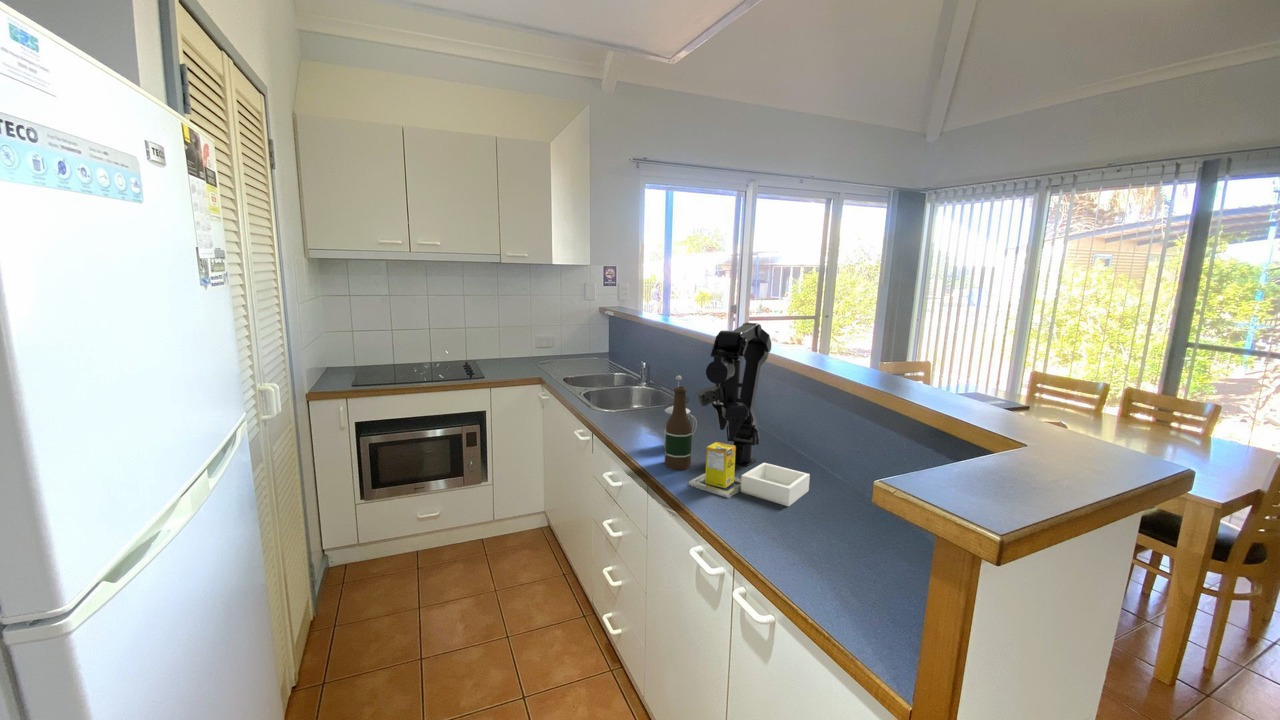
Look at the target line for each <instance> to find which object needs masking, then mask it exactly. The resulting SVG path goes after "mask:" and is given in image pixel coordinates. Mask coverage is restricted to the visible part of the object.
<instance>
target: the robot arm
mask: <svg viewBox="0 0 1280 720" xmlns="http://www.w3.org/2000/svg"><path fill="white" fill-rule="evenodd" d="M771 350H772V339H771V336H770V334H769V333H768V332H766V331H765V330H764V329H762V325H761V324H760V323H757V322H755V323H753V322H745V323H742V325H740V326H739V327H737V328H734V330H720V331H719V332H718V334H716V336H715V339H714V343H713V346H712V350H711V353H710V357H711V358H713V361H711V362H710V363H708V365H707V367H706V369H705V375H706V378H707V379H708V380H709V382H711V383H713V384H714V385H713V386H708V387H707V388H703V389H701V390H698V391H696V396H697V397H696V398H697V400H698V403H699V404H700V405H701V407H706V406H708V405H709V404H710V405H711V406H712V407H713V408H714V409H715V412H716V416H717V421H718V427H719V430H720V431H723V430H725V429H726V438H727V439H726V440H727V441H728V442H732V443H733V444H732V445H733V446H736V452H735V464H738V465H741V466H746V467H748V466H750V465H751V464H753V463H755V462H757V459H756V458H753V448H754V447H753V446H756V445H760V441H761V439H760V436H761V435H760V432H759V428H758V425H757V424H758V420H757V418H756V416H755V414H754V407H755V401H756V396H757V390H758V384H759V378H760V373H761V367H762V365H763V364H764V363H765V362H766V361H767V359H768V357H769V354H770V352H771ZM742 357H743V358H744V360H745V364H744V371H743V377H742V380H741V366H742Z"/></svg>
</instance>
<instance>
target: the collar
mask: <svg viewBox="0 0 1280 720" xmlns="http://www.w3.org/2000/svg"><path fill="white" fill-rule="evenodd" d="M705 474H706V472H705V473H702V474H700V475H699V476H697V477H695V478H692V479H690V480H689V481H688V486H690V485H691V486H690V487H693V486H694V487H693V488H695V487H696V489H698V488H699V489H698V490H703V491H704V492H705V491H706V492H708V493H712V494H715V495H716V496H717V495H718V496H720V497H724V498H728V499H730V498H732V496H734V495H736V494H738V493H739V492H741V478H742V476H741V477H740V476H738V475H734V483H738V484H737V485H736V486H734V487H732V488H730V489H729V490H721V489H718V488H715V487H712V486H708V485H705V483H701V482H702V481H704V480H705ZM700 481H701V482H700Z"/></svg>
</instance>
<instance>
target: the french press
mask: <svg viewBox="0 0 1280 720" xmlns="http://www.w3.org/2000/svg"><path fill="white" fill-rule="evenodd" d="M682 379H683V378H682V375H676V377H675V380H677V381H678V383H677V387H680V381H681V380H682ZM664 412H665V413H666V414H668V415H670V416H671V415H672V412H673V405H672V406H668V407H667V408H665V409H664ZM690 413H691V410H690V409H689V408H687V407H686V415H687V416H688V419H689V420H690V417H691V418H692V421H693V423H692V424H693V426H692V431H693V430H694V431H693V432H692V436H693V435H694V434H695V432H696V431H697V427H698V422H697V418H696V417H695V416H694V415H692V414H690ZM666 424H667V421H666V422H665V426H664V437H665V436H666ZM694 428H695V429H694ZM663 443H664V446H663V448H664V449H665V439H664V442H663Z"/></svg>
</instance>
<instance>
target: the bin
mask: <svg viewBox="0 0 1280 720" xmlns="http://www.w3.org/2000/svg"><path fill="white" fill-rule="evenodd" d="M810 477H811V474H810V473H808V472H807V473H806V472H803V471H799V470H795V469H791V468H787V467H783V466H779V465H776V464H772V463H767V462H763V463H761V464H759V465H757V466H755V467H754V468H752V469H750V470H748V471H746V472H745V473H743V474H741V491H740V493H742V494H746V495H750V496H753V497H755V498H759V499H762V500H766V501H769V502H772V503H775V504H778V505H779V504H780V505H782V506H786V507H790V506H791V505H792V504H794V503H795V502H796V501H798V500H799V499H801V497H803V496H804V495H805V494H807V493H808V492H809V490H810V480H811V479H810Z"/></svg>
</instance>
